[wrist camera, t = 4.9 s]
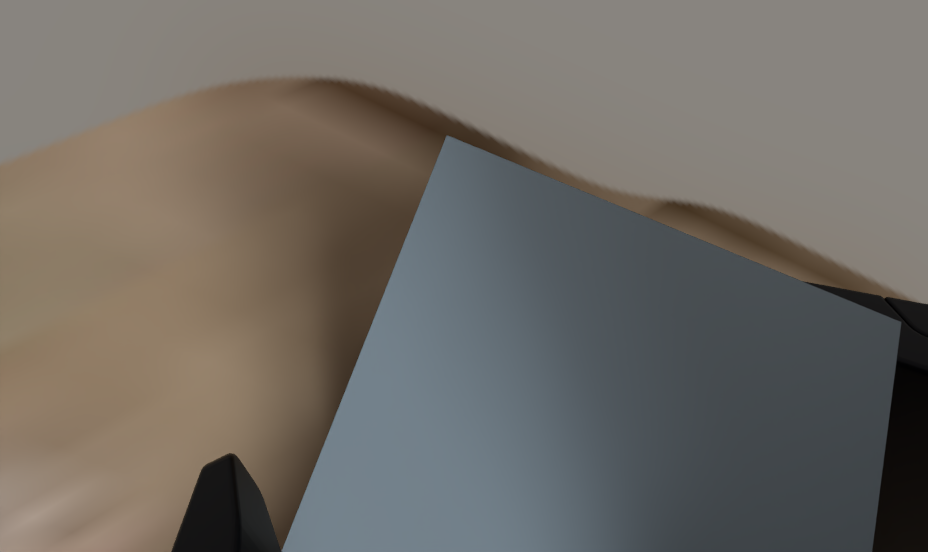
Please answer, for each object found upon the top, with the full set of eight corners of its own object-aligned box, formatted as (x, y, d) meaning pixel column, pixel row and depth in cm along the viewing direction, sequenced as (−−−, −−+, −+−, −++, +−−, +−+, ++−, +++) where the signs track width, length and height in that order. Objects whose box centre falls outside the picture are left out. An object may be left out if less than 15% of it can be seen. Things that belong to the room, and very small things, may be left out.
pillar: (538, 384, 16) (901, 322, 5) (486, 556, 15) (825, 909, 4) (381, 325, 16) (447, 135, 5) (314, 497, 14) (211, 725, 4)
